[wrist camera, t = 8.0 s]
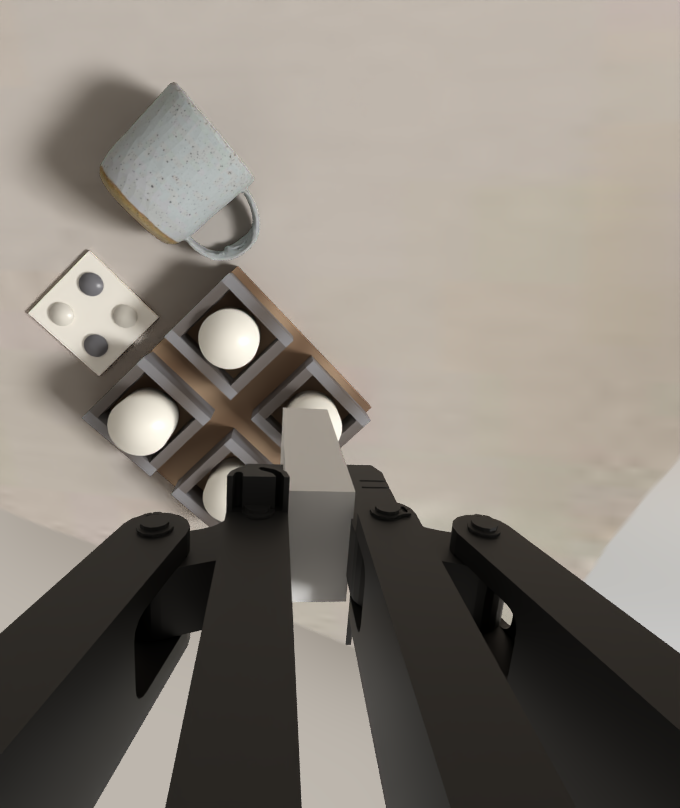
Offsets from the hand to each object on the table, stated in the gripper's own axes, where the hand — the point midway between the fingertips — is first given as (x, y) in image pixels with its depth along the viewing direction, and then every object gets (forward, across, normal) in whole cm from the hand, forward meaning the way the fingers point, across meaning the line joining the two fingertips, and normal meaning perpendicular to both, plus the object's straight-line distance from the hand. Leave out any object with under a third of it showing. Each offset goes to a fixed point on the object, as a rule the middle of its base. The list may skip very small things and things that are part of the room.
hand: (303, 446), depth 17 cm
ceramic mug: (+27, -7, +11) cm, 30 cm away
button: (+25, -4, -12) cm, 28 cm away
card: (+27, -15, +1) cm, 31 cm away
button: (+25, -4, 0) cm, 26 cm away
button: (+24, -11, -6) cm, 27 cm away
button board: (+27, -4, -6) cm, 28 cm away
